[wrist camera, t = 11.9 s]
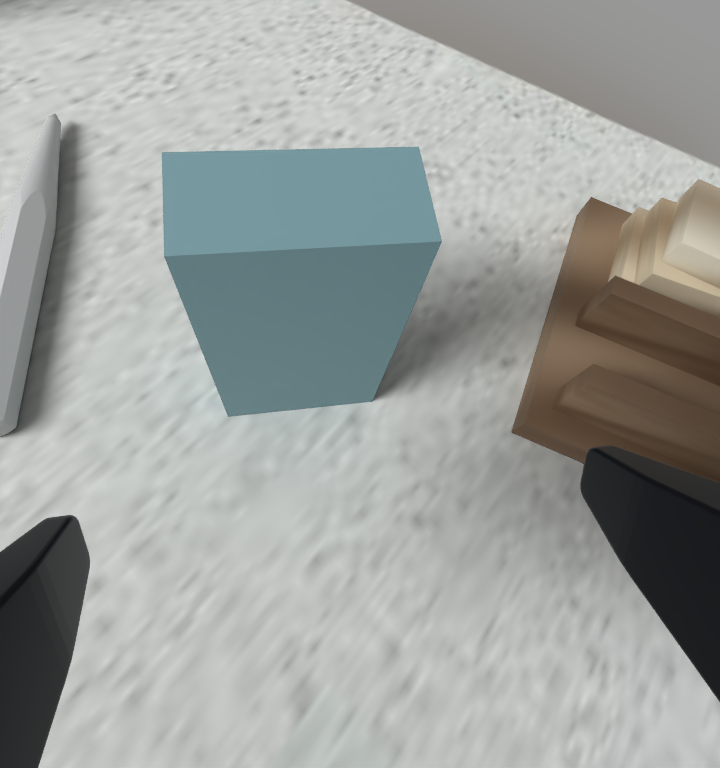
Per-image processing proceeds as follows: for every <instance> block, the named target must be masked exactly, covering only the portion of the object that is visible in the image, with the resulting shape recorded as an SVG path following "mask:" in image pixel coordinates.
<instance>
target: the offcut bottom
mask: <svg viewBox="0 0 720 768" xmlns="http://www.w3.org/2000/svg"><path fill="white" fill-rule="evenodd" d="M648 212H649V211H648V210H645V209H643V208H640V207H638V208H637V209H636V210H635V212H634V213H633V214H632V215H631V216H630V217H629V218H628V219H627V220H626V221H625V222H624V223H623V225H622V228H621V232H620V236H619V240H618V244H617V248H616V252H615V256H614V260H613V264H612V268H611V272H610V275H609V279H608V282H609V281H610V280H611V279H612V278H613V277H614V276H615V275H616V276H618V277H621V278H623V279H625V280H628V281H630V282H633V283H634V282H635V275H636V267H637V260H638V253H639V246H640V238H641V231H642V224H643V217H644V216H645V215H646V214H647V213H648Z"/></svg>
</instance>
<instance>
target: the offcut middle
mask: <svg viewBox="0 0 720 768" xmlns="http://www.w3.org/2000/svg"><path fill="white" fill-rule="evenodd" d="M676 204H677V203H676V202H673V201H670V200H667V199H665V198H661V199H660V200H659V201H658V202H657V203H656V204H655V205H654V206H653V207H652V209H651V210H650V211H649V212H648V213H647V214H646V215H645V216H644V217H643V224H642V231H641V238H640V246H639V253H638V260H637V267H636V275H635V282H634V283H635V284H637V285H640V286H642V287H645V288H647V289H650V290H652V291H654V292H657V293H659V294H662V295H664V296H666V297H669V298H671V299H674V300H676V301H679V302H681V303H683V304H686V305H688V306H691V307H693V308H695V309H698V310H700V311H703V312H705V313H707V314H710V315H712V316H715V317H717V318H720V289H719V288H717V287H715V286H713V285H710V284H708V283H706V282H704V281H702V280H699V279H697V278H695V277H693V276H691V275H689V274H686V273H684V272H682V271H680V270H678V269H675V268H673V267H671V266H669V265H667V264H665V263H662V262H660V261H661V258H662V254H663V250H664V247H665V243H666V240H667V236H668V233H669V229H670V225H671V222H672V218H673V215H674V211H675V208H676Z"/></svg>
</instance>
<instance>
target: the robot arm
mask: <svg viewBox="0 0 720 768" xmlns="http://www.w3.org/2000/svg"><path fill="white" fill-rule="evenodd" d="M581 492H582V495H583V498H584V499H585V501H586V503H587V505H588V506H589V508H590V510H591V512H592V513H593V515H594V517H595V519H596V520H597V522H598V524H599V525H600V527H601V529H602V531H603V532H604V534H605V536H606V538H607V539H608V541H609V543H610V545H611V546H612V548H613V550H614V552H615V553H616V555H617V557H618V558H619V560H620V561H621V563H622V565H623V566H624V568H625V569H626V571H627V572H628V574H629V575H630V577H631V578H632V579H633V581H634V582H635V584H636V585H637V586H638V588H639V589H640V591H641V592H642V593H643V595H644V596H645V598H646V599H647V600H648V602H649V603H650V605H651V606H652V607H653V609H654V610H655V612H656V613H657V615H658V616H659V617H660V619H661V620H662V622H663V623H664V624H665V626H666V627H667V629H668V630H669V631H670V633H671V634H672V636H673V637H674V638H675V640H676V641H677V643H678V644H679V645H680V647H681V648H682V650H683V651H684V652H685V654H686V655H687V657H688V658H689V659H690V661H691V662H692V664H693V665H694V666H695V668H696V669H697V671H698V672H699V673H700V675H701V676H702V678H703V679H704V680H705V682H706V683H707V685H708V686H709V687H710V689H711V690H712V692H713V693H714V694H715V696H716V697H717V699H718V700H719V702H720V483H719V482H716V481H713V480H710V479H708V478H705V477H702V476H699V475H696V474H693V473H690V472H687V471H685V470H682V469H679V468H676V467H673V466H670V465H667V464H664V463H662V462H659V461H656V460H653V459H650V458H647V457H644V456H641V455H639V454H636V453H633V452H630V451H627V450H624V449H621V448H618V447H616V446H612V445H606V446H599V447H592V448H591V449H589V450H588V452H587V454H586V458H585V463H584V468H583V473H582V478H581ZM89 568H90V557H89V552H88V549H87V546H86V543H85V540H84V536H83V533H82V530H81V527H80V524H79V521H78V520H77V518H76V517H74V516H72V515H67V516H59V517H51V518H47V519H45V520H43V521H42V522H40V523H39V524H38V525H36V526H35V527H33V528H32V529H31V530H29V531H28V532H27V533H25V534H24V535H23V536H21V537H20V538H19V539H17V540H16V541H14V542H13V543H12V544H10V545H9V546H8V547H6V548H5V549H4V550H2V551H1V552H0V768H38V766H39V763H40V760H41V757H42V754H43V750H44V747H45V744H46V741H47V738H48V735H49V731H50V728H51V725H52V722H53V719H54V715H55V712H56V709H57V706H58V703H59V700H60V696H61V693H62V690H63V687H64V684H65V681H66V677H67V674H68V670H69V667H70V663H71V660H72V655H73V651H74V646H75V641H76V636H77V631H78V626H79V621H80V615H81V610H82V605H83V600H84V595H85V590H86V584H87V579H88V574H89Z"/></svg>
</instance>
